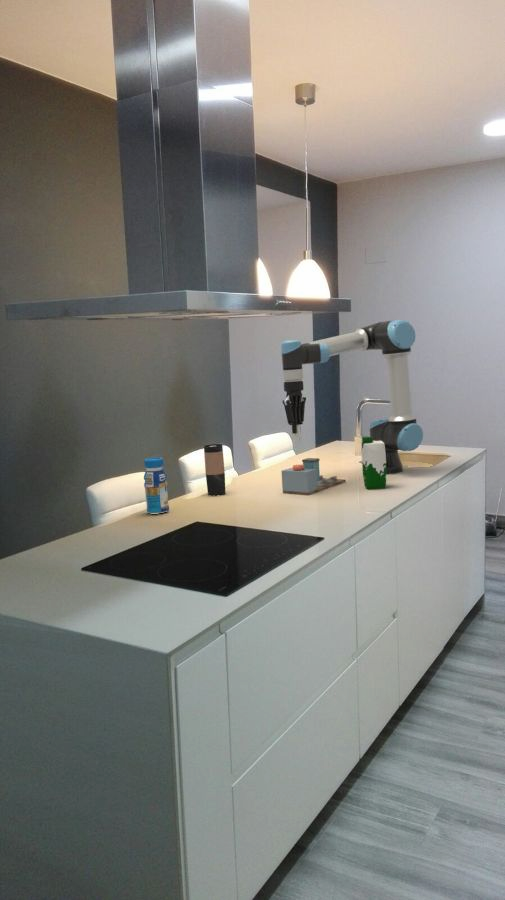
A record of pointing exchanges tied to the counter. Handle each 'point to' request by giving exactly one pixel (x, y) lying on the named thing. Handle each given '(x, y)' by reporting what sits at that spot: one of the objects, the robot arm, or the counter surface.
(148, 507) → the beverage bottle
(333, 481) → the rail track
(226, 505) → the counter surface
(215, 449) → the travel mug
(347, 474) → the counter surface
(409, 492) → the counter surface
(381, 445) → the milk carton
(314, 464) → the carriage
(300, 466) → the button
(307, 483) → the cabinet
